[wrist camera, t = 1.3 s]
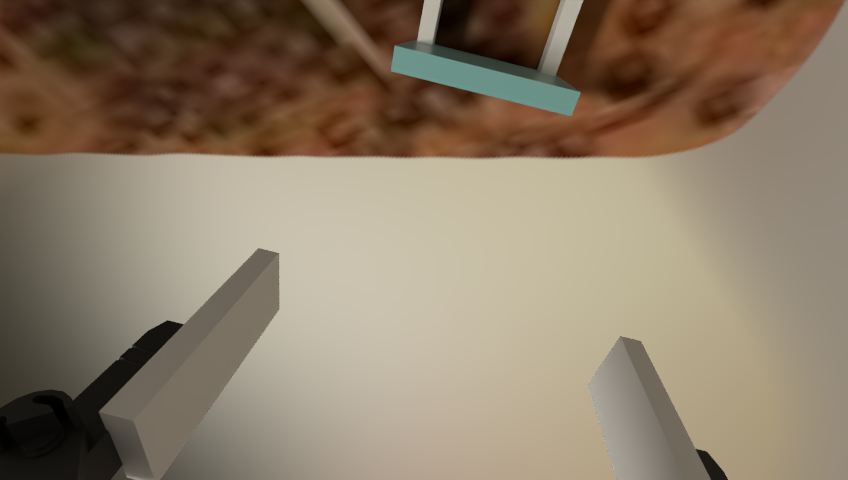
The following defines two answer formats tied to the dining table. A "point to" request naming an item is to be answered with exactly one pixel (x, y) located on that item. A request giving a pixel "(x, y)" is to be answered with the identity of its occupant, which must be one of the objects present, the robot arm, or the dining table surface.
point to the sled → (493, 64)
